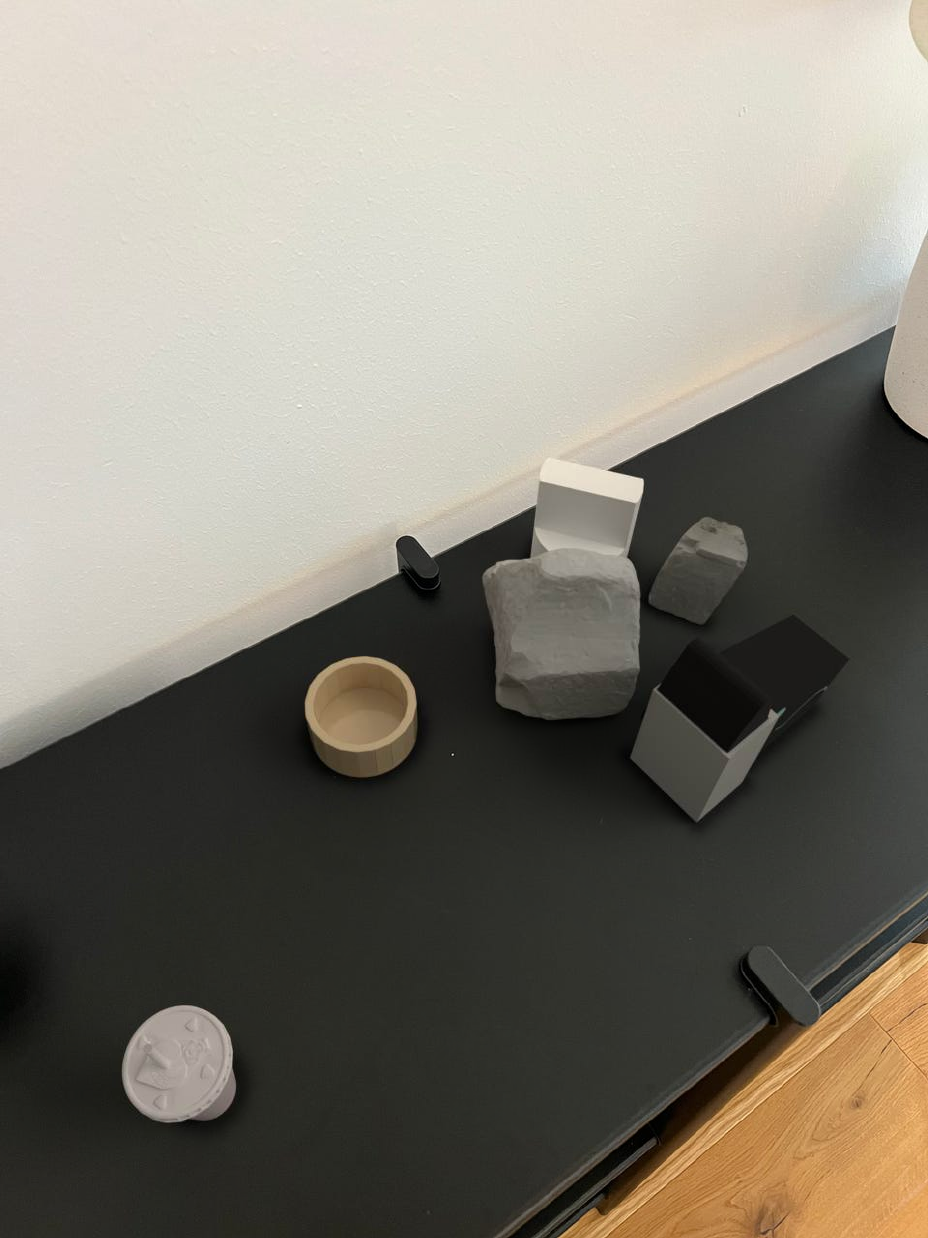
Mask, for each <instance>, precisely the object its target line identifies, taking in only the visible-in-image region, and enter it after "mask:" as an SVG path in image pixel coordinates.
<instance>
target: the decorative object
mask: <svg viewBox="0 0 928 1238" xmlns="http://www.w3.org/2000/svg"><path fill="white" fill-rule="evenodd" d="M849 661H850V658H849V657H848V656H847V655H845V654H844V653H843V652H841V651H840V650H839V649H837V647H835V646H834V645H833V644H831V642H829V641H828V640H827V639H826V638H824V637H822V635H820V634H819V633H818V632H817V631H815V630H814V629H813V628H811V627H810V626H809V625H807V624H806V622H804V621H802V620H801V619H800V618H799V617H797V616H796V615H795V614H792V615H789V616H787V617H786V618H784V619H781V620H780V621H778V622H775V623H774V624H772V625H770V626H768V627H766V628H764V629H762V630H760V631H758V632H756V633H754V634H753V635H751V636H749V637H747V638H744V639H743V640H741V641H738V642H737V643H735V644H733V645H731V646H729V647H727V648H725V649H723V650H721V651H718V652H717V651H716V650H715V649H714V648H713V647H712V646H710V644H708V643H707V642H706V641H705V640H703V639H702V638H701V637H700V636H697V637H695V638H694V639H692V640H691V641H690V642H689V643H688V644H687V645H686V646H685V647H684V650H682V652H681V654H680V655H679V656H678V658H677V659H676V660H675V662H674V663H673V665H672V666H671V667H670V669H669V670H668V671H667V673H666V674H665V676H664V677H663V680H662V681H661V682H660V683H659V684H658V685H657V686H656V687H654V688H653V689H652V692H651V694H650V697H649V700H648V703H647V704H646V705H645V707H644V708H643V710H642V712H641V713H640V716H639V721H640V722H641V723H640V727H639V729H638V730H639V731H638V733H637V736H636V739H635V741H634V742H635V743H634V745H633V747H632V751H631V754H630V756H629V758H630V759H631V760H632V762H634V763H635V764H636V765H637V766H638V767H639V768H640V769H641V770H642V771H643V772H644V773H645V774H646V775H647V776H648V777H649V778H650V779H651V780H652V781H653V782H654V783H655V784H656V785H657V786H658V787H659V788H660V789H661V790H662V791H664V793H665V794H666V795H668V797H670V798H671V799H672V800H673V801H674V802H675V803H676V804H677V805H678V807H680V808H681V809H682V810H683V811H684V812H685V813H686V814H687V815H688V816H689V817H690V818H691V819H692V820H693V821H694V822H695V823H698V822H699V821H700V820H702V819H703V818H704V817H705V816H706V815H707V814H708V813H709V812H710V811H711V810H713V809H714V808H715V807H716V806H718V805H719V803H720V802H721V801H723V800H724V799H725V798H726V797H727V796H728V795H729V794H731V793H732V792H733V791H734V790H735V789H737V788H738V787H739V786H740V785H741V784H742V783H743V781H744V780H745V778H746V776H747V775H748V773H749V771H750V769H751V768H752V766H753V764H754V762H755V760H756V758H757V757H758V755H759V754H760V753H761V752H763V750H765V749H766V748H767V747H768V746H769V745H770V744H772V743H773V742H774V741H775V740H776V739H777V738H778V737H780V736H781V735H782V734H784V732H785V731H787V730H788V729H789V728H790V727H792V726H793V725H794V724H795V723H796V722H797V721H798V720H800V718H802V717H803V716H804V715H805V714H806V713H807V712H808V711H809V710H811V709H812V708H813V707H814V706H815V704H816V703H817V702H818V701H819V699H820V698H821V696H822V695H823V694H824V693H825V691H826V690H827V689H828V687H829V686H830V685H831V683H833V681H834V680H835V679H836V677H837V676H838V675H839V673H840V672H841V671H842V670H843V668H844V667H845V666H846V664H847V663H848V662H849Z"/></svg>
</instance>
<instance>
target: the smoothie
mask: <svg viewBox="0 0 928 1238" xmlns="http://www.w3.org/2000/svg"><path fill="white" fill-rule="evenodd" d="M231 1040H232V1039H231V1036H230V1035H229V1032H228V1030H227V1029H226V1026H225V1025H224V1024H223V1023H222V1022H221V1021H220V1019H218V1018H217V1017H216V1015H214V1014H212V1013H211V1012H209V1011H207V1010H206V1009H203V1008H201V1007H198V1006H195V1005H187V1004H185V1005H184V1004H183V1005H174V1006H170V1007H168V1008H167V1007H166V1008H165V1009H161V1010H160V1011H158V1012H156V1013H155V1014H153V1015H151V1016H150V1017H149V1018H148V1019H146V1020H145V1021H143V1023H142V1024H141V1025H140V1026H139V1027H138V1028H137V1029H136V1031H135V1032H134V1033H133V1035H132V1036H131V1038H130V1040H129V1041H128V1044H127V1046H126V1049H125V1052H124V1054H123V1059H122V1065H121V1079H122V1084H123V1088H124V1091H125V1094H126V1096H127V1098H128V1099H129V1101H130V1102H131V1104H132V1105H133V1106H134V1107H135V1108H136V1109H137V1110H138V1111H139V1112H140V1113H141V1115H144V1116H146V1117H148V1118H149V1119H151V1120H152V1121H156V1122H161V1123H166V1124H167V1123H179V1122H180V1123H181V1122H184V1121H186V1120H192V1121H193V1120H195V1121H212V1120H214V1119H217V1118H218V1117H220V1116H222V1115H223V1114H224V1113H225V1112H227V1110H228V1109H229V1108H230V1106H231V1104H232V1103H233V1101H234V1098H235V1095H236V1090H237V1083H236V1082H237V1081H236V1078H235V1072H234V1070H233V1069H234V1068H233V1058H234V1057H233V1055H234V1054H233V1053H234V1050H233V1045H232V1041H231Z"/></svg>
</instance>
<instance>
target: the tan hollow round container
mask: <svg viewBox="0 0 928 1238" xmlns="http://www.w3.org/2000/svg"><path fill="white" fill-rule="evenodd" d="M417 706H418V703H417V696H416V690H415V687H414V684H413V683H412V682H411V679H410V677H409V676H408V675H407V674H406V673H405V672H404V671H403V670H402V669H401V668H400V667H398V665H395V664H394V663H391V662H389V661H388V660H385V659H383V658H380V657H373V656H367V655H365V656H364V655H363V656H354V657H348V658H344V659H342V660H339V661H337V662H334V663H332V664H330V665H329V666H327V667H326V668H325V669H323V670H322V671H321V672H319V673H318V674H317V675H316V677H315V679H314V680H313V681H312V683H311V684H310V685H309V687H308V690H307V693H306V696H305V700H304V713H305V714H304V715H305V719H306V720H305V721H306V725H307V728H308V733H309V737H310V741H311V743H312V747H313V749H314V752H315V753H316V755H317V757H318V758H319V759H320V760H321V762H322V763H323V764H325V765H326V766H327V767H328V768H330V769H331V770H332V771H334V772H336V773H338V774H340V775H344V776H348V777H353V778H369V777H376V776H379V775H380V776H381V775H383V774H385V773H387V772H390V771H391V770H393V769H395V768H396V767H397V766H399V765H400V764H402V762H403V761H404V760H405V759H406V758H407V757H408V756H409V754H410V753H411V751H412V749H413V748H414V746H415V743H416V740H417V737H418V736H417V735H418V707H417Z"/></svg>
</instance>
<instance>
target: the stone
mask: <svg viewBox="0 0 928 1238" xmlns="http://www.w3.org/2000/svg"><path fill="white" fill-rule="evenodd" d="M637 574H638V573H637V570H636V568H635V565H634V563H633V562H632V561H631V559H629V558H628V557H627V558H624V557H621V556H616V555H603V554H601V553H597V552H594V551H588V550H583V549H578V548H560V549H555V550H552V551H549V552H546V553H543V554H540V555H539V556H537V557H535V558H530V557H529V558H523V559H505V560H501V561H496V562H495V564H494V565H493V566H491V567H489V568H487V569H486V570H485V571H484V573H482V576H481V578H482V579H481V580H482V586H483V590H484V597H485V599H486V605H487V608H488V612H489V616H490V619H491V622H492V629H493V633H494V636H493V642H494V643H493V645H494V647H495V671H494V672H495V679H496V680H495V681H496V682H495V701H496V703H498V705H500V706H501V707H502V708H504V709H507V710H511V711H515V712H519V713H520V714H522V715H524V716H526V717H533V718H542V719H544V720H546V721H555V720H568V719H569V720H570V719H579V718H587V719H588V718H602V717H607V716H612V715H617V714H619V713H621V712H623V711H624V710H625V709H627V707H628V704H629V702H631V700H632V698H633V697H634V694H635V691H636V683H637V682H638V675H639V674H640V671H641V667H640V654H639V645H640V638H641V633H640V632H641V626H640V625H641V624H640V619H641V617H640V616H641V615H640V612H641V611H640V609H641V599H640V598H641V589H640V582H639V580H638V575H637Z"/></svg>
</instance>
